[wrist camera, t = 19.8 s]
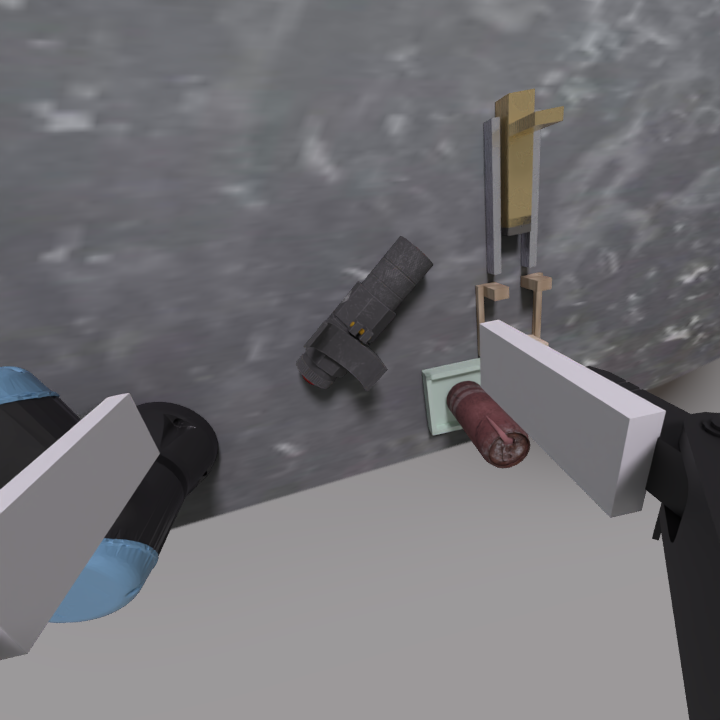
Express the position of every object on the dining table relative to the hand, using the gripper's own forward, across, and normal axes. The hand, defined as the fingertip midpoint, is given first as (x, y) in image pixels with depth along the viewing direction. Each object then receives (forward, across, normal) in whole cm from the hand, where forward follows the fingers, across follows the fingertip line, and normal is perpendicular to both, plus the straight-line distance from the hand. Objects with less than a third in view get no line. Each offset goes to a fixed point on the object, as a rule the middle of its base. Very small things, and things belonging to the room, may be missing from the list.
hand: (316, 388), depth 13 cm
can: (+34, +19, -24) cm, 45 cm away
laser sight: (+35, +4, -7) cm, 36 cm away
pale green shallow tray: (+35, +18, -24) cm, 46 cm away
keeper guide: (+35, +26, +4) cm, 44 cm away
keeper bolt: (+35, +26, +8) cm, 44 cm away
